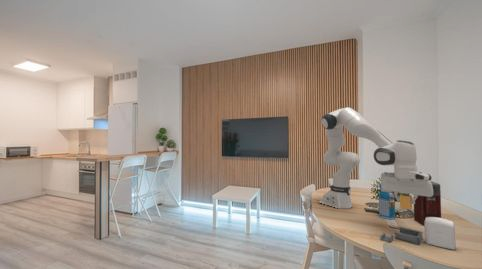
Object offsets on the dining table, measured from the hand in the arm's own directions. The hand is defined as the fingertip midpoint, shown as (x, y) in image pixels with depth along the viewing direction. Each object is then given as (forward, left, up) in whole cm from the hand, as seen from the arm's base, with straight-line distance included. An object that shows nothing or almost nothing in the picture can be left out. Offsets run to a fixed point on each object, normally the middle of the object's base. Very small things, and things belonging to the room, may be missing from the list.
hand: (406, 202), depth 107 cm
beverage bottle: (-14, +26, -17) cm, 35 cm away
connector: (0, 0, -3) cm, 3 cm away
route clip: (-6, -9, -17) cm, 20 cm away
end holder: (+1, 0, -17) cm, 17 cm away
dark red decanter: (+5, +30, -17) cm, 35 cm away
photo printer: (+12, +1, -17) cm, 21 cm away
